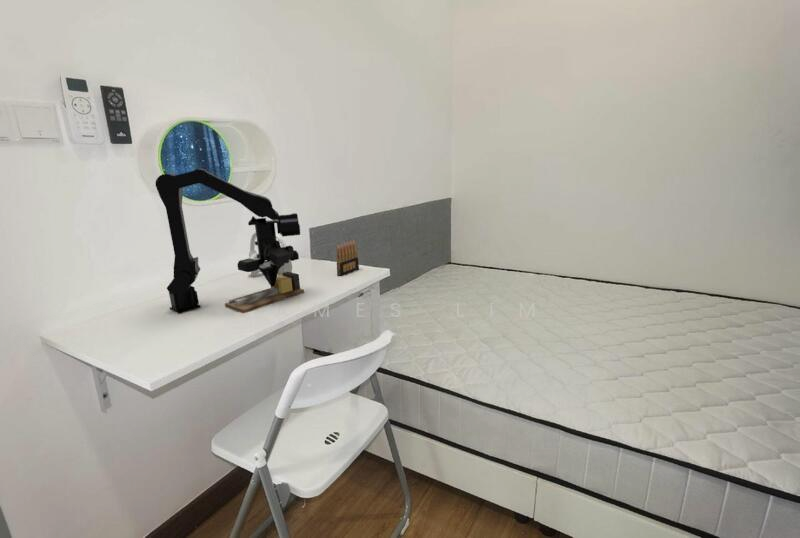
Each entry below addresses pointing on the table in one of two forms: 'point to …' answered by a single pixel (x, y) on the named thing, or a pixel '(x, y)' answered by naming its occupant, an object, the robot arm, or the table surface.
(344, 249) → the ammunition clip
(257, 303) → the rail board
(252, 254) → the headset
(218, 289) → the table surface
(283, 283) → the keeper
